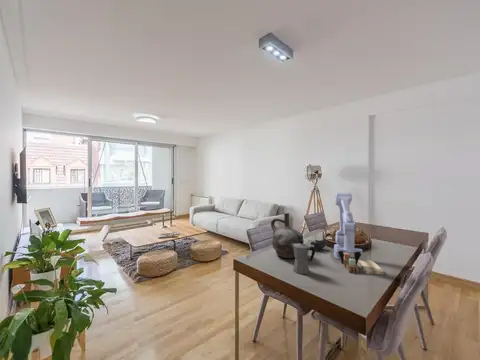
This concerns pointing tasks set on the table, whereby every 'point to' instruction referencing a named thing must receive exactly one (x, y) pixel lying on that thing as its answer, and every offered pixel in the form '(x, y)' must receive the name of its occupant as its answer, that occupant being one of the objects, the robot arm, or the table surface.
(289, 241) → the vessel
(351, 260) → the pale green cube
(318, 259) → the table surface
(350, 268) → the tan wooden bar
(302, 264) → the coffeepot
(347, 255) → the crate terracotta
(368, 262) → the dock
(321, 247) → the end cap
